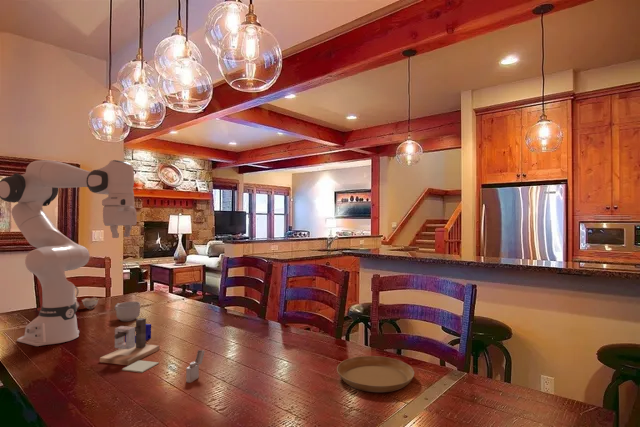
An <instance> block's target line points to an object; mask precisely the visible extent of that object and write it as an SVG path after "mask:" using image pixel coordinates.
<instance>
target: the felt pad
mask: <svg viewBox="0 0 640 427" xmlns="http://www.w3.org/2000/svg"><path fill="white" fill-rule="evenodd" d="M157 365H159V362H158V361H150V360H143V359H140V360H138V361H136V362H134V363H132V364H130V365H126V366H125V367H123V368H121V371H125V372H132V373H141V374H143V373H145V372H146V371H148V370H150V369H152V368H154V367H156V366H157Z"/></svg>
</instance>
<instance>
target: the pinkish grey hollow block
mask: <svg viewBox="0 0 640 427" xmlns="http://www.w3.org/2000/svg"><path fill="white" fill-rule="evenodd" d="M135 327H136V326H126V325H125V326H124V325H120V326H118V327H115V328H114V336H115V335H116V334H118V333H121V332H124V333H126V342H125V336H123V337H121V338H118V339H115V338H114V349H131V348H133V347H135V336H136V332H135Z"/></svg>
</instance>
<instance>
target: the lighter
mask: <svg viewBox="0 0 640 427" xmlns="http://www.w3.org/2000/svg"><path fill="white" fill-rule="evenodd" d="M205 352H206V351H205V350H203V349H198V350H197V353H196V356H195V359H194V361H192V362H190V363H189V365H188V366H187V367H186V368H185V369H186V376H185V378H186V379H185V382H186V383H193V382H194V381H196V380H197V379H199V377H200V374H199V373H200V371H199V368H200V365H202V363H203V360H204V356H205Z"/></svg>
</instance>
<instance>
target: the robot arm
mask: <svg viewBox="0 0 640 427" xmlns="http://www.w3.org/2000/svg"><path fill="white" fill-rule="evenodd" d="M134 185H135V174H134V168H133V165H132V163H129V162H127V161H123V160H116V159H114V160H110V161H109V162H108V163H107V164H106V165H104V166H103V167H100V168H98V169H93V170H91V171H90V170H86V169H83V168H80V167H77V166H74V165H71V164H68V163H65V162H61V161H58V160H50V159H47V160H45V159H42V160H34V161H32V162H29V164H28V165H27V166H26V167H25V173H23V174H19V173H18V172H16V173H14V174H12V175H10V176H6V177H4V178H2V179H1V180H0V199H1V201H4V202H8V203H13V204H14V203H16V204H15V205H13V207H12V209H11V212H10V213H11V216H12V218H13V221H14V223H15V226H17V228H18V230H19V231H20V233H21V234H22V235H23V237H24V238H25V239H26V241H27V242H28V245H30V246H32V247H34V248H36V249H33V250H30V251H29V252H28V253H27V255H26V256H25V259H24V261H25V262H24V263H25V264H24V265H25V267H26V269H27V270H28V272H30V273H31V274H33V275H35V277H37V279H38V282H39V284H40V286H41V291H42V292H41V293H42V305H41V307H38V308H37V311H38V312H39V313H38V316H36V317H35V318H34V319H33V320H32V321H30V322H29V323H28V324H27V325H26V326H25V329H24V335H22V336H20V337H19V338H17V340H16V341H17V342H19V343H22V344H26V345H30V346H34V347H39V346H40V347H41V346H46V345H55V344H62V343H65V342H70V341H73V340H75V339H77V338H79V336H80V335H79V334H80V330H79V328H78V320H77V315H76V313H77V311H76V303H75V296H76V288H75V287H76V286H75V284H74V283H73V282H71V281H69V280H68V279H67V278H66V274H65V272H66V271H67V272H68V271H73V270H77V269H80V268H82V267H84V266H86V265H87V264H88V263H89V261H90V256H91V255H90V252H89V250H88V248H87V247H85V246H84V245H81V244H79V243H76V241H73V240H71V239H70V238H69V237H67V236H66V235H64V234H63V233H62V232H61V231H60V230H59V229H58V227H56V225H55V224H54V223H53V222H52V220H51V219H50V217H49V216H48V215H47V213H45V211H44V209H43V208H44V207H47V206H49V205H50V204H51V202H53V201H54V200H55V199H56V198H57V196H58V195H59V189H69V188H70V189H71V188H87V189H88V190H89V191H90V192H91V193H94V194H98V195H108V196H107V197H106V198H104V199H102V201H101V204H102V206H103V208H102V219H103V220H102V221H103V224H104V226H106V227H108V226H109V229H110V232H111V237H112V238H113V239H118V238H119V237H120V235H119V234H120V233H119V232H118V229H119V226H124V232H123V237H124V238H129V237H131V232H132V227H133V226H136V225H137V223H138V220H137V219H138V218H137V216H138V215H137V209H136V207H135V192H134Z"/></svg>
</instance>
